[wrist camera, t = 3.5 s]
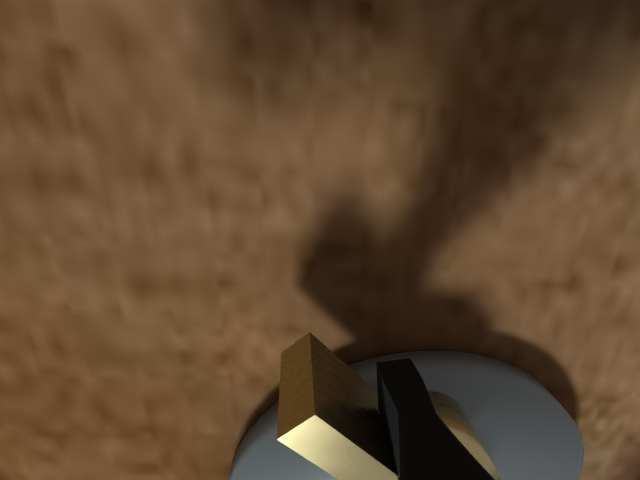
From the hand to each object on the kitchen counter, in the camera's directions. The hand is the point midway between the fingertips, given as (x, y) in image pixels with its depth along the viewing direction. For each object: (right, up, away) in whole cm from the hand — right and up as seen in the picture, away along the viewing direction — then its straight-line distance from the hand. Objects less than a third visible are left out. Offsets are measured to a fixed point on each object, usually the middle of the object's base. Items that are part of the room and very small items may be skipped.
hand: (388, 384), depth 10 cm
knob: (0, -2, +2) cm, 3 cm away
